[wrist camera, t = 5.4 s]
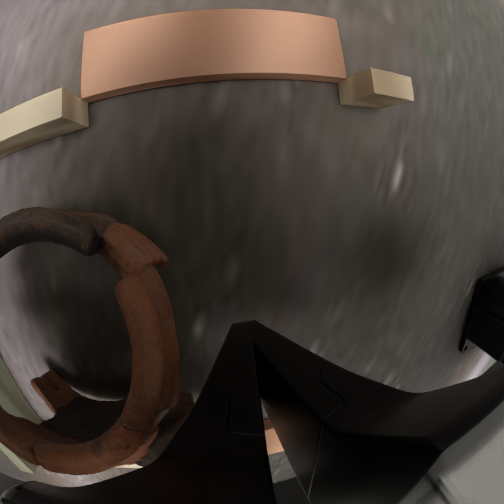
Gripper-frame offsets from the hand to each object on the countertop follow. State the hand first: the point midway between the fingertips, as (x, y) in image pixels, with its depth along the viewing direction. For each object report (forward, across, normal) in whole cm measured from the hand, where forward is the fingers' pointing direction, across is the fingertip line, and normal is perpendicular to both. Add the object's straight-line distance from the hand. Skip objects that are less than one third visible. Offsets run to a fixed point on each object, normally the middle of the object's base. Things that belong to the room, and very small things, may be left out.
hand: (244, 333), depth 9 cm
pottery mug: (+3, +6, +1) cm, 6 cm away
